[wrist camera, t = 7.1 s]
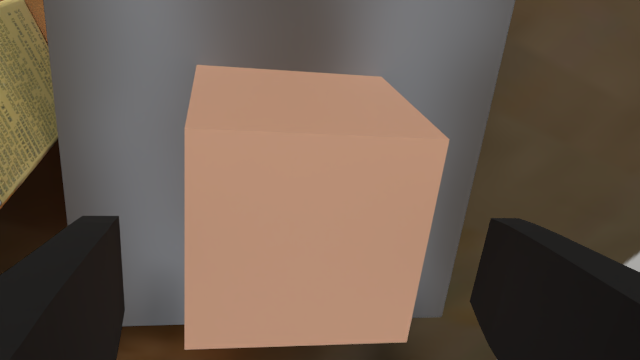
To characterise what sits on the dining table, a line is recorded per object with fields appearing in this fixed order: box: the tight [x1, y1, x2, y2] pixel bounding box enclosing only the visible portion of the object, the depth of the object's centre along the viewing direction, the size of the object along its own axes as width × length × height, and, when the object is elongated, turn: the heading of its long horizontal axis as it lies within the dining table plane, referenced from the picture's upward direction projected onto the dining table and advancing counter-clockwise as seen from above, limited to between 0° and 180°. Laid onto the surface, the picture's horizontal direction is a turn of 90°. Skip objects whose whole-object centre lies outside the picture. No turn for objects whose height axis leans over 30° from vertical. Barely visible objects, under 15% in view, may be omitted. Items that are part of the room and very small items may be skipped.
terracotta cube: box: [185, 65, 450, 350], centre depth 13 cm, size 5×5×5 cm
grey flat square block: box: [43, 0, 515, 326], centre depth 17 cm, size 12×12×4 cm
